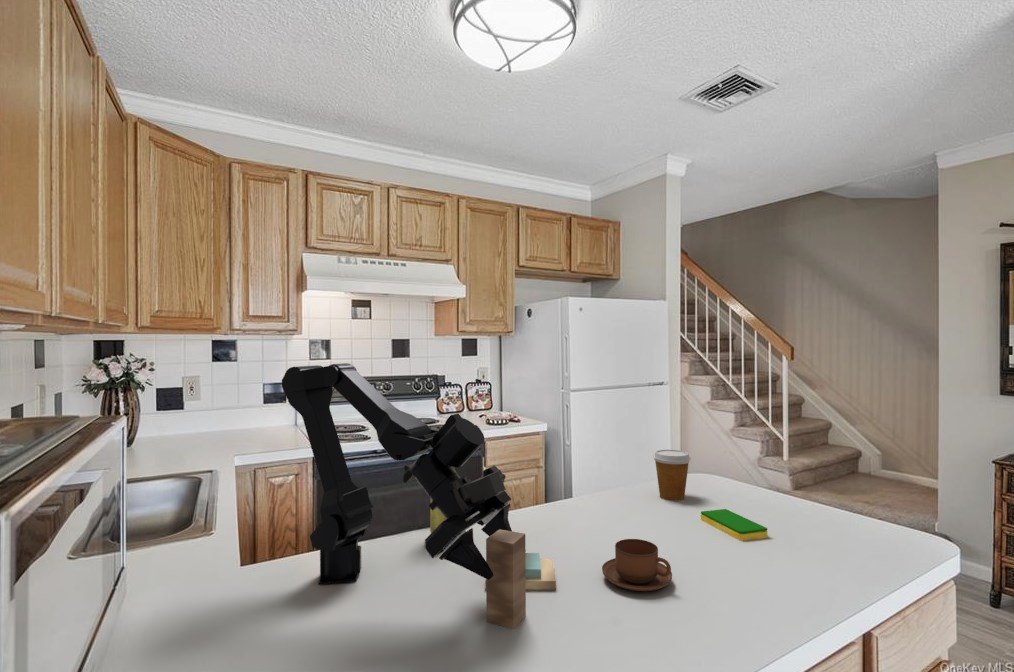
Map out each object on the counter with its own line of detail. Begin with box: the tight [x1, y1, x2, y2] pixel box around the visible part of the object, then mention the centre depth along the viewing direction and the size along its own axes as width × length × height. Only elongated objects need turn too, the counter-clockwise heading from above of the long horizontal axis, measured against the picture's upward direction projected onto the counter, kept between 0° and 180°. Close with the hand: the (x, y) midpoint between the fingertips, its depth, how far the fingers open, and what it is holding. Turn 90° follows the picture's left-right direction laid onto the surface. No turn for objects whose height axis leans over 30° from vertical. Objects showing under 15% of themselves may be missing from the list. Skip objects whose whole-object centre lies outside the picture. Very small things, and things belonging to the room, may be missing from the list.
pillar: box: [485, 529, 527, 630], centre depth 81 cm, size 4×4×12 cm
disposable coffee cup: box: [653, 448, 691, 502], centre depth 142 cm, size 10×10×12 cm
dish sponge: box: [700, 508, 768, 542], centre depth 119 cm, size 7×14×2 cm, turn 15°
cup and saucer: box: [601, 538, 673, 592], centre depth 93 cm, size 12×12×6 cm
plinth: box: [484, 552, 557, 591], centre depth 94 cm, size 12×9×3 cm
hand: (505, 565), depth 81 cm, fingers open, 9 cm apart
